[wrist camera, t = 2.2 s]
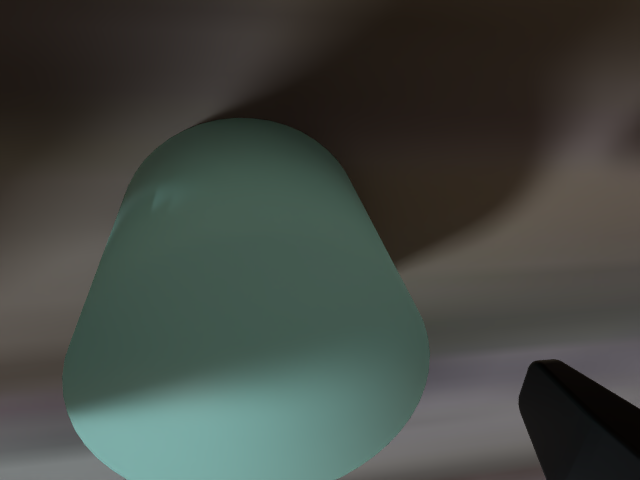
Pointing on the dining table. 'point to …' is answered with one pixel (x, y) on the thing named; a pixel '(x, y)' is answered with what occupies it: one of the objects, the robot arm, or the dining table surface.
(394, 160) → the dining table surface
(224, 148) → the seafoam tapered dome
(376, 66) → the dining table surface
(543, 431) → the robot arm
